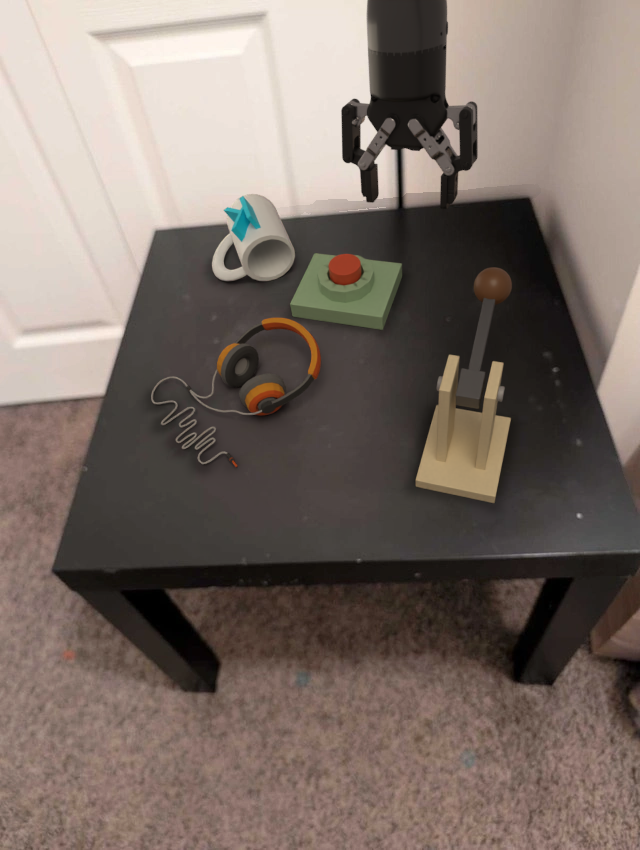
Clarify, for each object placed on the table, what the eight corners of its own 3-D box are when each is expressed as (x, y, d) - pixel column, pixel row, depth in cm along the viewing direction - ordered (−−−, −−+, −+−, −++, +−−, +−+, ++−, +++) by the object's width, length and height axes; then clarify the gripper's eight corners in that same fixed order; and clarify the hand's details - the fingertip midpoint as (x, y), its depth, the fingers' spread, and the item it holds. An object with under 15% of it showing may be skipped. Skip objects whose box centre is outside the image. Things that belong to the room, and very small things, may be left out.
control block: (402, 276, 88) (401, 252, 85) (382, 330, 83) (381, 306, 79) (316, 265, 91) (312, 242, 88) (292, 316, 86) (287, 293, 83)
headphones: (129, 384, 78) (262, 279, 80) (152, 406, 83) (278, 306, 84) (195, 481, 69) (344, 361, 71) (217, 499, 74) (356, 386, 75)
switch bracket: (436, 411, 74) (439, 330, 64) (509, 424, 72) (525, 342, 62) (415, 486, 69) (415, 411, 59) (494, 503, 67) (508, 427, 56)
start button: (365, 266, 85) (364, 255, 83) (356, 287, 82) (355, 276, 81) (335, 262, 86) (333, 251, 84) (325, 283, 84) (324, 272, 82)
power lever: (477, 278, 68) (477, 257, 64) (513, 282, 67) (516, 262, 63) (448, 406, 63) (447, 391, 60) (486, 413, 62) (487, 398, 59)
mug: (246, 164, 90) (267, 214, 83) (281, 210, 97) (304, 260, 90) (178, 216, 93) (193, 268, 85) (217, 256, 100) (235, 308, 92)
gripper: (323, 49, 64) (337, 212, 75) (470, 48, 59) (463, 223, 69) (352, 30, 69) (361, 185, 80) (490, 28, 64) (480, 194, 74)
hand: (408, 203), depth 74 cm, fingers open, 8 cm apart
